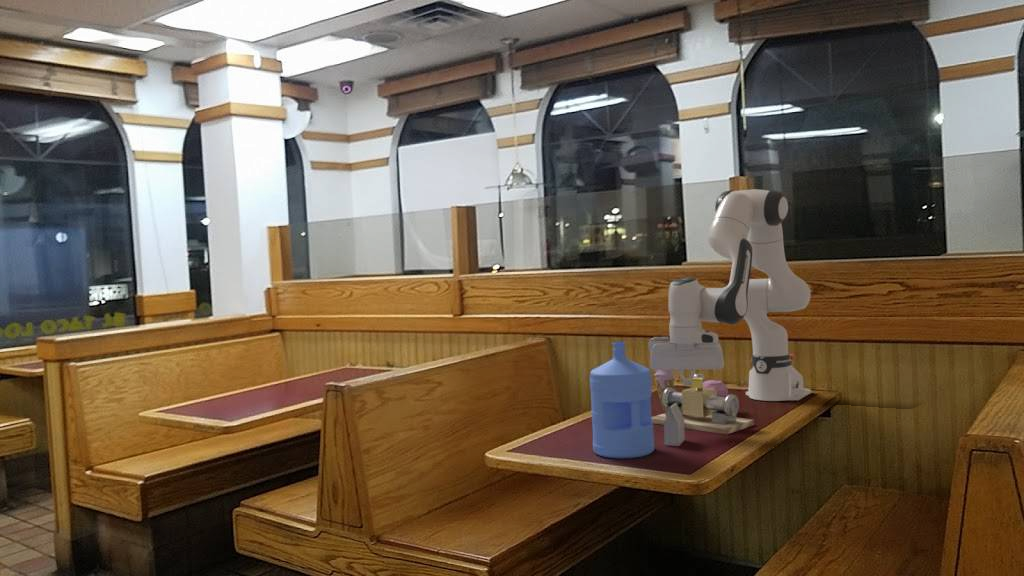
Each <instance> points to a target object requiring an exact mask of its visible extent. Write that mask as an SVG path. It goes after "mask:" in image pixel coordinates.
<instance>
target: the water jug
mask: <svg viewBox="0 0 1024 576" xmlns="http://www.w3.org/2000/svg"><path fill="white" fill-rule="evenodd" d="M625 345H626V342H625V341H617V342H616V341H615V342H612V346H613V348H612V353H613V356H612V358H611V359H609V360H608V361H606V362H605V363H602V364H601V365H599V366H597V367H595V368H593V369H592V370H591V371H590V373H589V374H590V375H589V387H590V401H591V402H590V403H591V412H590V415H591V421H592V450H593V452H594V453H595V454H596V455H598V456H600V457H604V458H608V459H634V458H635V459H636V458H643V457H645V456H648V455H650V454H651V453H653V452H654V450H655V440H654V424H653V423H652V419H651V417H652V406H651V405H652V403H651V402H652V401H651V399H652V398H651V397H652V394H653V393H652V392H653V391H652V386H653V380H652V375H651V374H652V372H651V368H650V369H649V368H648V367H646V366H644V365H641V364H639V363H637V362H636V361H632V360H630V359H628V358H627V356H626V346H625Z"/></svg>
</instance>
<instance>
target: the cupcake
mask: <svg viewBox="0 0 1024 576" xmlns="http://www.w3.org/2000/svg"><path fill="white" fill-rule="evenodd" d="M704 381H705V382H703V387H705V388H714V389H717V397H725V398H726V396H727V395H729V388H728V387H727V385H726V384H725V383H723V381H721V380H715V379H709V380H704Z"/></svg>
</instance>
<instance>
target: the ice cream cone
mask: <svg viewBox="0 0 1024 576" xmlns="http://www.w3.org/2000/svg"><path fill="white" fill-rule="evenodd" d="M654 371H655V373H654V374H653V377H654V381H655V386H656V390H657V393H658V396H659V400H660V404H661V406H662V410H663V412H665V406H664V405H663V402H662V395H663V392H664V390H665V389H666V388H674V384H675V378H674V375H675V374H674V373H675V371H674V370H654Z"/></svg>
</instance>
